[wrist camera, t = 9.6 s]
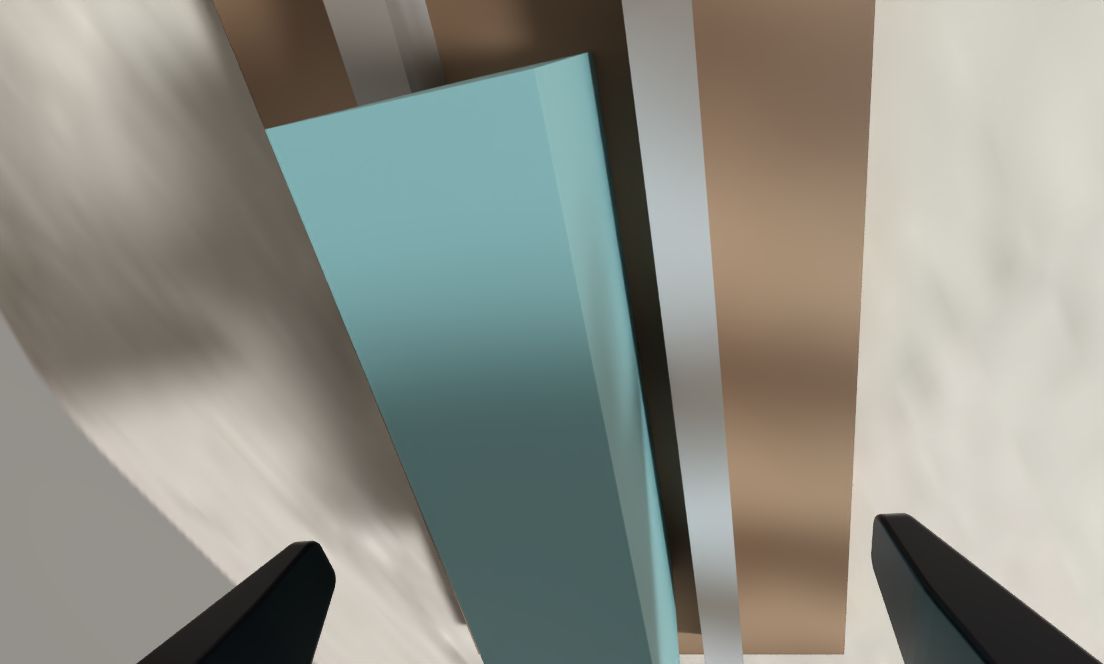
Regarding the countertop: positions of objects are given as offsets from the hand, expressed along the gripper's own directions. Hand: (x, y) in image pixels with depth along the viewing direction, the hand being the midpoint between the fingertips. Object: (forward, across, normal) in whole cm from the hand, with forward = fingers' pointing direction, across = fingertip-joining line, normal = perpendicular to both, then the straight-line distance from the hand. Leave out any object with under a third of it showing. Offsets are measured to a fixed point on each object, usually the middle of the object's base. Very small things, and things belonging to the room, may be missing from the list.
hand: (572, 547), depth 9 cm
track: (+6, 0, 0) cm, 6 cm away
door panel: (+5, 0, 0) cm, 5 cm away
